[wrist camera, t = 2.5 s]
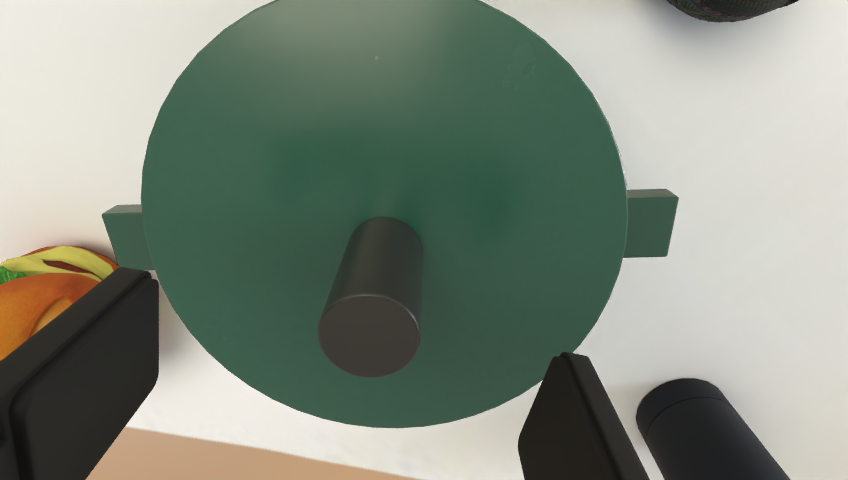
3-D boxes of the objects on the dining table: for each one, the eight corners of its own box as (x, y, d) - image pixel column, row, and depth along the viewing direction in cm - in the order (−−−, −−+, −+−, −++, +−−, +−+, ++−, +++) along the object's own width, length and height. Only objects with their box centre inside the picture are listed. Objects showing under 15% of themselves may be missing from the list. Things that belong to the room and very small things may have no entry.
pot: (191, 18, 24) (13, 14, 14) (601, 2, 24) (735, -14, 14) (248, 281, 31) (156, 414, 20) (572, 273, 30) (647, 404, 20)
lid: (94, -7, 14) (-123, -26, 9) (651, -29, 14) (804, -65, 8) (214, 411, 21) (137, 552, 16) (589, 403, 21) (648, 545, 15)
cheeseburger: (-34, 247, 30) (-181, 331, 21) (144, 208, 31) (79, 270, 22) (43, 374, 34) (-52, 491, 25) (197, 334, 35) (161, 430, 26)
